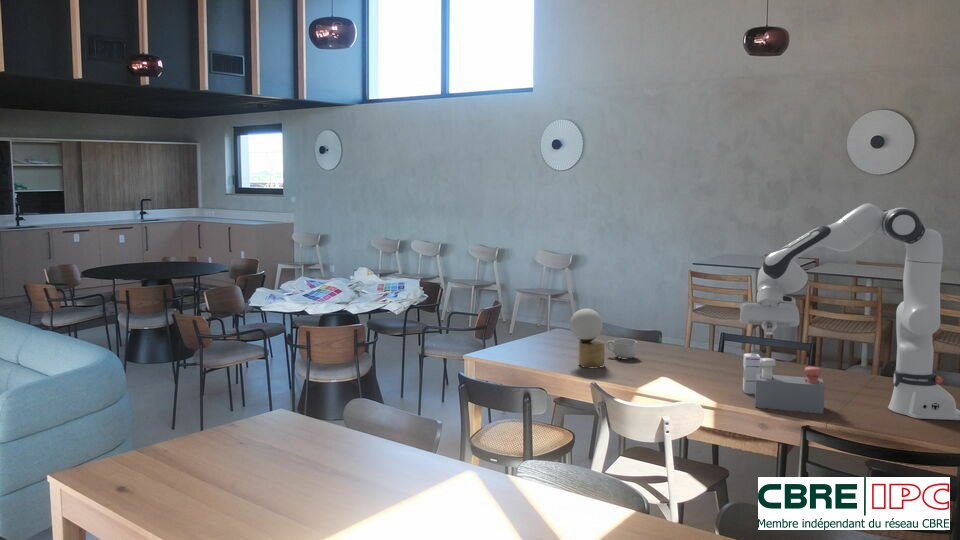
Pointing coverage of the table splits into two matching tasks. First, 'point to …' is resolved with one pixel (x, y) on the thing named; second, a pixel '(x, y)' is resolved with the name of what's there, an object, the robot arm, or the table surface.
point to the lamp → (588, 337)
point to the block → (789, 394)
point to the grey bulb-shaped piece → (767, 367)
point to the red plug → (812, 374)
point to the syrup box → (750, 372)
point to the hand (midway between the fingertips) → (769, 333)
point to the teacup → (623, 347)
